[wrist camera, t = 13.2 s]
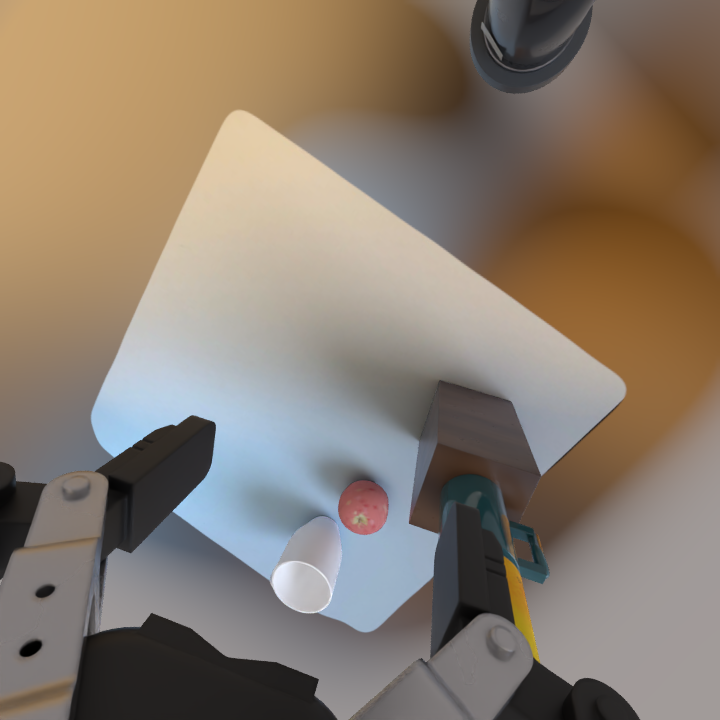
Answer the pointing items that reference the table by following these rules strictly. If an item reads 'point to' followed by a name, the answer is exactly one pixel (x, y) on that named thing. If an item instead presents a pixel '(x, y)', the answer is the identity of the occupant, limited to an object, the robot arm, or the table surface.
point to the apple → (363, 507)
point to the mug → (309, 566)
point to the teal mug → (494, 521)
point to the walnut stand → (471, 452)
